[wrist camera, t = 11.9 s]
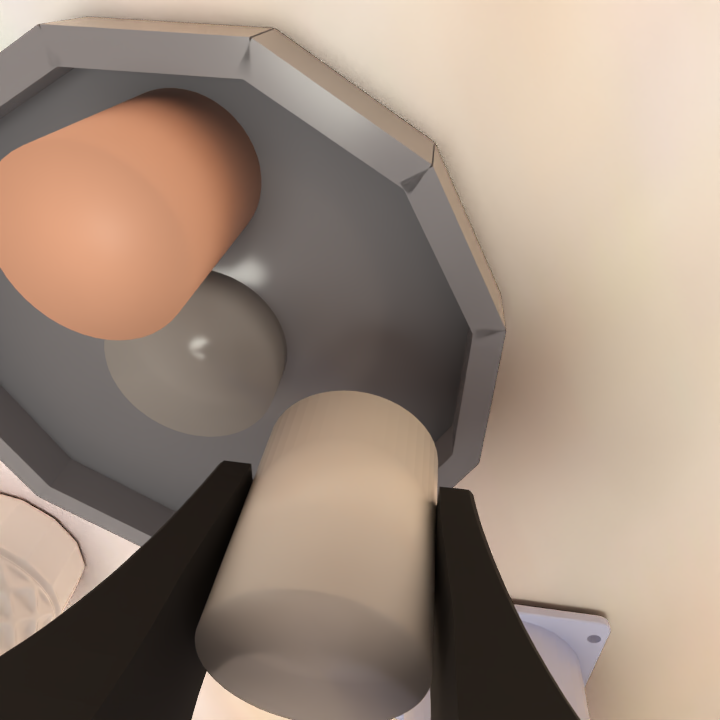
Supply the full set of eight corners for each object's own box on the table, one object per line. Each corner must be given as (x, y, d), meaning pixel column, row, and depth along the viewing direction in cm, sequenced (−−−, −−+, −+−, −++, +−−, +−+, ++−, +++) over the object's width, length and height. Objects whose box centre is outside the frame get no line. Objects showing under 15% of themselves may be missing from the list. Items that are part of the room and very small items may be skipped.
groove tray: (452, 548, 23) (452, 594, 21) (26, 493, 24) (-5, 532, 23) (548, 44, 13) (562, 56, 12) (-157, 1, 15) (-232, 6, 13)
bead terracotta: (265, 251, 16) (202, 349, 12) (123, 238, 17) (16, 330, 13) (257, 93, 14) (177, 148, 10) (94, 81, 15) (-48, 130, 10)
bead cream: (428, 527, 15) (420, 740, 11) (272, 507, 16) (207, 707, 11) (447, 401, 13) (445, 608, 9) (264, 381, 13) (180, 571, 9)
